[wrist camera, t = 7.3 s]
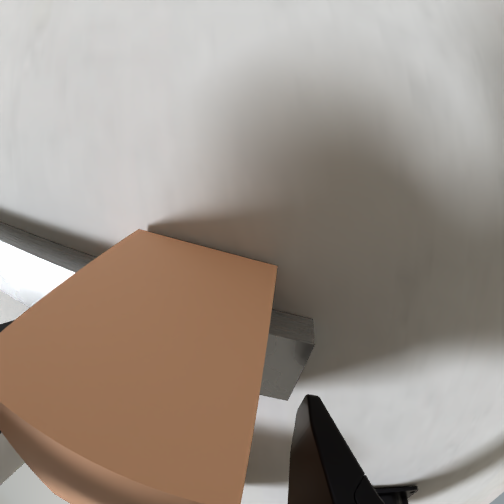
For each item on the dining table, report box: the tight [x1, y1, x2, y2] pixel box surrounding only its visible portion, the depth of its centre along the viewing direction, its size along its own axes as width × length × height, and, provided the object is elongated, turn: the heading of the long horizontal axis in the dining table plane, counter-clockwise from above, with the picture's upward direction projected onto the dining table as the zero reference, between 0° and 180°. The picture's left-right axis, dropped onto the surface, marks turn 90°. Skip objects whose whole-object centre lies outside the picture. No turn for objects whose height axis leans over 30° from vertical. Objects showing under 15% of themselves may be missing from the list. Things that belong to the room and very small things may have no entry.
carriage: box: [0, 229, 278, 504], centre depth 8 cm, size 5×7×8 cm
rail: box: [0, 222, 315, 401], centre depth 11 cm, size 18×3×2 cm, turn 77°
